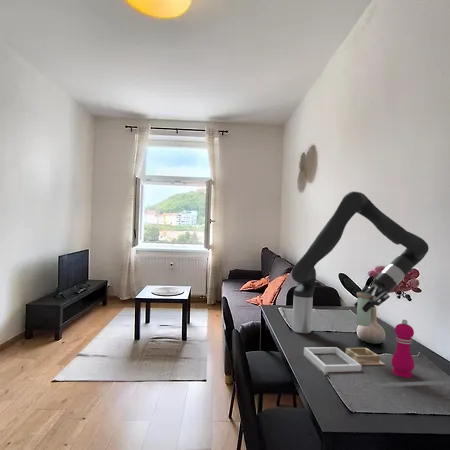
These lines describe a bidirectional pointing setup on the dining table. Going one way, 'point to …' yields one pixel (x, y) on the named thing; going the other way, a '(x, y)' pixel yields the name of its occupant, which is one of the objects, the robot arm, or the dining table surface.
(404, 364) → the pepper mill
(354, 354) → the holder
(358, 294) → the green lidded jar
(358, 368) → the tray
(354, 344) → the dining table surface
